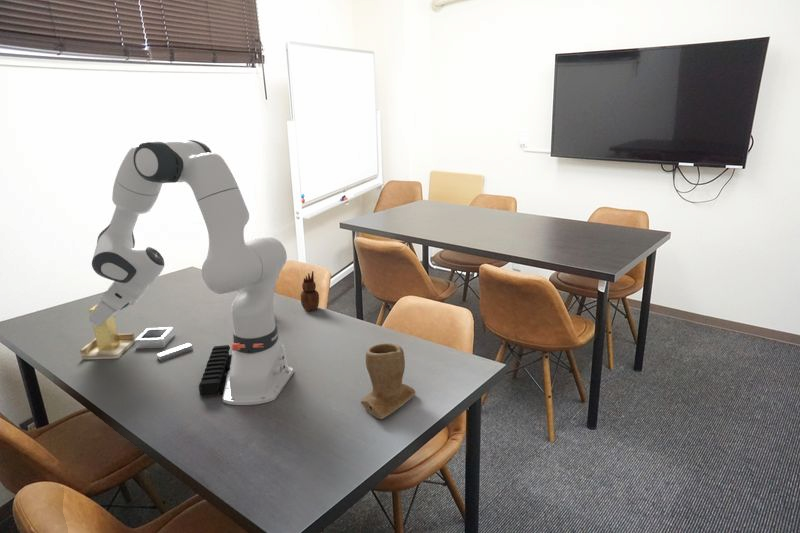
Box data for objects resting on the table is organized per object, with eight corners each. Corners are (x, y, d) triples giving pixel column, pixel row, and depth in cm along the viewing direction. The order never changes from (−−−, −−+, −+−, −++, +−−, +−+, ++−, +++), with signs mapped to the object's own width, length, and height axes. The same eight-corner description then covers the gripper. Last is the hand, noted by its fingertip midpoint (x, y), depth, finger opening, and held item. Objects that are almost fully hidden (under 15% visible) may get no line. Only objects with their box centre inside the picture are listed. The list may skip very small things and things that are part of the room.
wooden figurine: (321, 306, 186) (318, 269, 182) (317, 312, 181) (314, 274, 176) (304, 305, 187) (301, 269, 182) (299, 312, 182) (296, 274, 177)
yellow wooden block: (112, 350, 154) (103, 309, 149) (98, 350, 153) (88, 309, 149) (119, 343, 158) (110, 303, 153) (106, 343, 158) (96, 304, 153)
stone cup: (387, 381, 135) (386, 333, 130) (421, 396, 128) (421, 346, 123) (348, 407, 124) (345, 355, 119) (383, 425, 117) (381, 370, 112)
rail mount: (211, 361, 148) (208, 346, 147) (233, 359, 150) (231, 344, 148) (197, 401, 129) (194, 385, 127) (222, 398, 130) (220, 382, 128)
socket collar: (163, 347, 157) (162, 339, 156) (136, 348, 157) (134, 340, 156) (174, 335, 165) (173, 327, 164) (148, 336, 165) (147, 328, 164)
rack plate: (118, 358, 151) (116, 349, 150) (82, 359, 151) (80, 350, 150) (135, 341, 161) (133, 333, 160) (101, 342, 161) (99, 334, 160)
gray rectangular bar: (189, 348, 157) (188, 342, 156) (193, 350, 155) (192, 345, 155) (157, 359, 150) (156, 353, 150) (160, 362, 149) (159, 356, 148)
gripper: (133, 273, 159) (109, 301, 162) (99, 297, 139) (72, 329, 142) (150, 285, 160) (126, 313, 163) (118, 310, 141) (91, 342, 144)
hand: (101, 321), depth 153 cm, fingers open, 5 cm apart
